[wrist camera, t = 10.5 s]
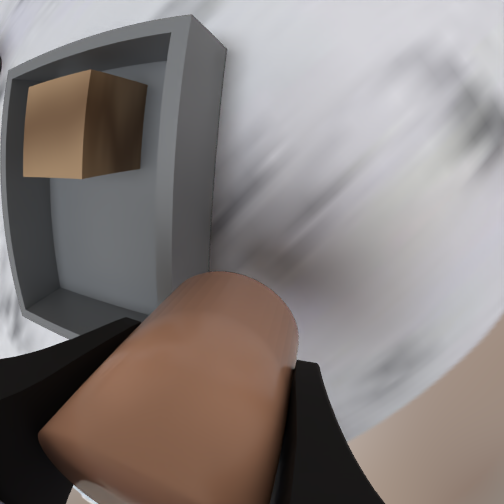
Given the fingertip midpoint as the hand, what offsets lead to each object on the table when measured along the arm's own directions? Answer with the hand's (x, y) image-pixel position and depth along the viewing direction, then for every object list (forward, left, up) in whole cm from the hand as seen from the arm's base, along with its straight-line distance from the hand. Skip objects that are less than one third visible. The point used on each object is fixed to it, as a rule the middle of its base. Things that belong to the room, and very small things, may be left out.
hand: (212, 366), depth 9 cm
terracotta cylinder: (0, 0, -2) cm, 2 cm away
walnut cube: (+7, +10, -8) cm, 15 cm away
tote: (+3, +10, -9) cm, 14 cm away
